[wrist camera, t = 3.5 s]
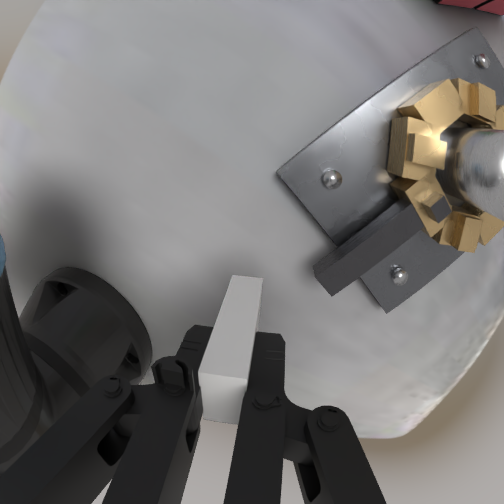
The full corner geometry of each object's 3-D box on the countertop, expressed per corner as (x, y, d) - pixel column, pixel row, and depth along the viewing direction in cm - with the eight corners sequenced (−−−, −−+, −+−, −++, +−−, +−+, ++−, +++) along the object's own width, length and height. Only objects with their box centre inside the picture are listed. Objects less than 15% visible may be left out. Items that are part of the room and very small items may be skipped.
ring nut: (358, 317, 21) (369, 349, 17) (268, 210, 18) (265, 228, 15) (515, 183, 15) (544, 194, 11) (457, 63, 12) (486, 54, 9)
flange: (381, 303, 22) (415, 374, 14) (276, 170, 19) (275, 192, 11) (534, 163, 15) (593, 183, 7) (467, 30, 12) (527, 7, 4)
